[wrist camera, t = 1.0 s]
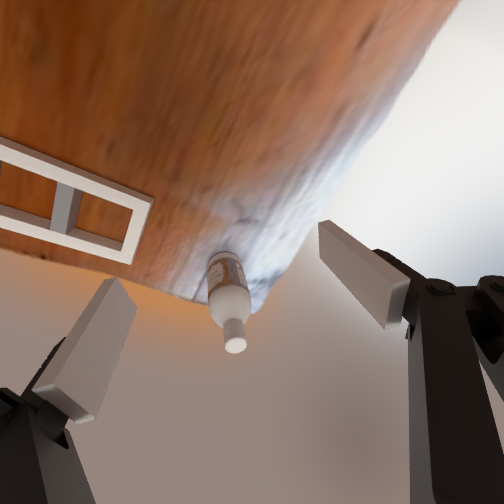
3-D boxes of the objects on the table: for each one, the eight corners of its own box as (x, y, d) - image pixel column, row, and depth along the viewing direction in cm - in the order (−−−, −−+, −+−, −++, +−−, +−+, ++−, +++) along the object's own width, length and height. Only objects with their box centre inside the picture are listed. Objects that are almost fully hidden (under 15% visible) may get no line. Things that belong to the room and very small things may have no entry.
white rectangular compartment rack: (-118, 180, 30) (-149, 184, 27) (-130, 83, 26) (-168, 78, 23) (135, 256, 41) (130, 264, 39) (154, 198, 37) (150, 203, 35)
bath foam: (224, 244, 44) (236, 317, 26) (247, 264, 47) (272, 341, 29) (200, 267, 45) (197, 351, 28) (224, 285, 48) (235, 370, 31)
